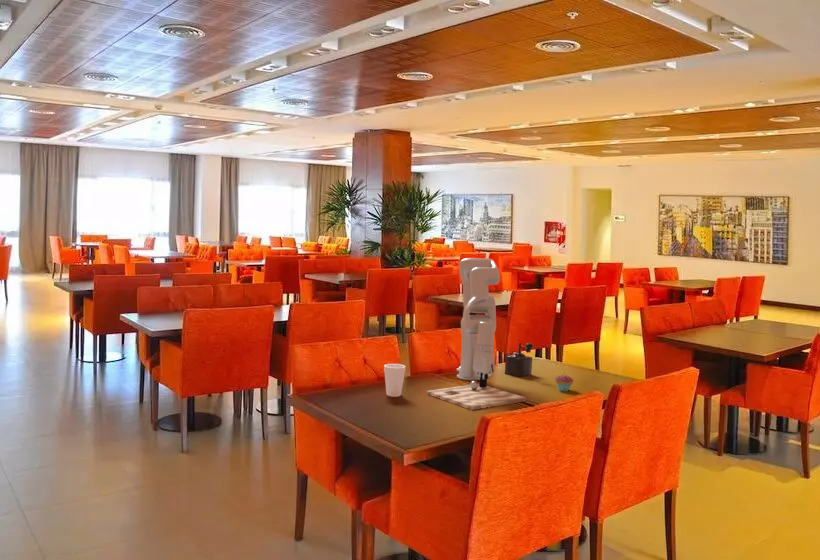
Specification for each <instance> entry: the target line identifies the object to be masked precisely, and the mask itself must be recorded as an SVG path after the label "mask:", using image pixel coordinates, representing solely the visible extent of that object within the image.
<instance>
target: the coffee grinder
mask: <svg viewBox="0 0 820 560" xmlns="http://www.w3.org/2000/svg"><path fill="white" fill-rule="evenodd" d="M533 348H534V345H533V344H532V343H531V342H527V343H526V344H525V347H523V346H522V343H521V342H519V343H518V352H515V353H512V354H510V355H506V356H505V361H504V362H505V363H504V374H505V375H508V374H509V376H515V377H520V378H523V377H528V376H531V375H532V372H533V371H532V370H533V357H532V356H529V355H525V354H524V353H522V352H521V351H522V350H524V351H525V352H526V353H527V354H528V353H531V351H532V349H533ZM521 349H522V350H521Z"/></svg>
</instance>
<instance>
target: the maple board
mask: <svg viewBox="0 0 820 560" xmlns="http://www.w3.org/2000/svg"><path fill="white" fill-rule="evenodd" d="M478 385H479V383H478ZM426 395H428V396H430V395H431V397H433V396H434V398H436V397H437V398H436V399H439V398H440V399H439V400H443V401H445V402H448V403H450V404H452V405H453V404H454V405H456V406H459V407H463V408H465V409H467V410H471V411H475V409H476V410H480V408H482V409H486V407H488V408H492V407H491V406H493V407H498V406H503V405H510V404H516V403H517V404H518V403H521V402H526V401H527V397H526V396H522V395H519V394H516V393H513V392H509V391H507V390H506V391H505V390H502V389H498V388H496V387H492V386H489V385H487V387H485V388H481V387H479V386H478V388H477V389H476V390H473V389H471V388H470V384H465V385H460V386H459V385H458V386H454V387H446V388H438V389H433V390H432V389H429V390H426Z"/></svg>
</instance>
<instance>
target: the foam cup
mask: <svg viewBox="0 0 820 560" xmlns="http://www.w3.org/2000/svg"><path fill="white" fill-rule="evenodd" d="M406 369H407V368H406V365H405V364H401V363H387V364H384V365H383V371H384V381H385V392H386V393H385V394H386V396H388V397H393V398H395V397H396V398H397V397H401V395H402V390H403V386H404V378H405V373H406Z"/></svg>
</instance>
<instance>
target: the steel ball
mask: <svg viewBox="0 0 820 560" xmlns="http://www.w3.org/2000/svg"><path fill="white" fill-rule="evenodd" d="M478 384H479V382H478V381H477V380H475V381H470V382H469V385H470V388H471V389H473V390H476V389H477V388H478V386H479V385H478Z"/></svg>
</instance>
